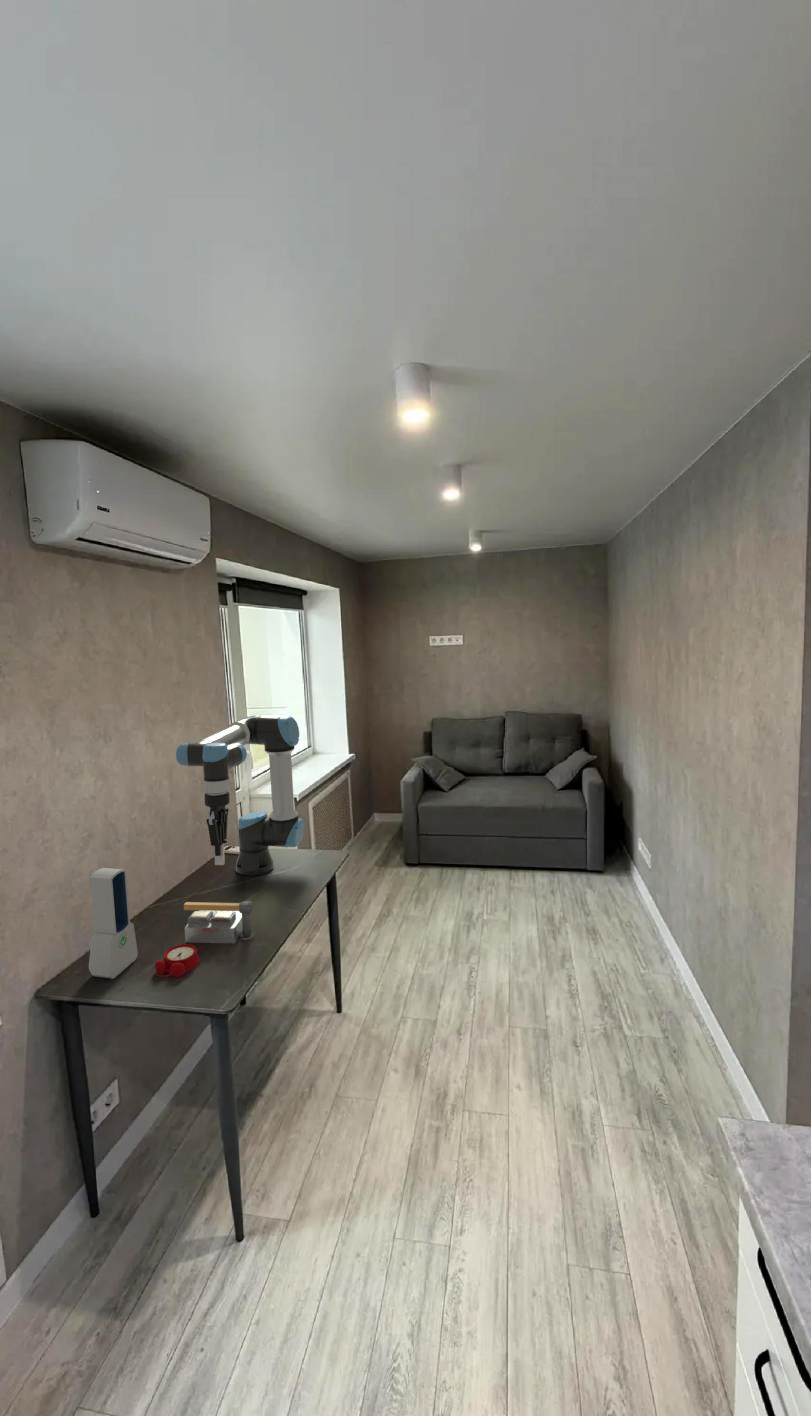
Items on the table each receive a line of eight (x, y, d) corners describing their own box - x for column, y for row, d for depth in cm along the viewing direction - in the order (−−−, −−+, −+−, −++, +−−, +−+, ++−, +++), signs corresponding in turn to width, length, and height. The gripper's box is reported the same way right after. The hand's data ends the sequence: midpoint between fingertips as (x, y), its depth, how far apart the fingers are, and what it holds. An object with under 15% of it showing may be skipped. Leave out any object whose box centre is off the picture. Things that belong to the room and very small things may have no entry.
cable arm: (254, 932, 197) (253, 901, 196) (251, 938, 193) (249, 906, 192) (189, 930, 199) (187, 899, 197) (184, 936, 195) (182, 905, 193)
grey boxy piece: (200, 924, 204) (199, 903, 203) (261, 925, 203) (260, 904, 202) (185, 942, 192) (184, 920, 191) (250, 944, 191) (249, 922, 190)
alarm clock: (208, 945, 184) (177, 960, 170) (206, 966, 183) (175, 983, 169) (178, 940, 187) (146, 955, 172) (177, 961, 186) (144, 978, 172)
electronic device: (111, 981, 172) (103, 880, 167) (88, 978, 173) (79, 878, 169) (139, 957, 184) (132, 863, 180) (117, 955, 185) (109, 861, 181)
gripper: (213, 787, 198) (216, 856, 200) (196, 797, 185) (200, 871, 187) (235, 787, 197) (238, 857, 200) (220, 798, 184) (224, 872, 187)
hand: (219, 864), depth 194 cm, fingers closed
